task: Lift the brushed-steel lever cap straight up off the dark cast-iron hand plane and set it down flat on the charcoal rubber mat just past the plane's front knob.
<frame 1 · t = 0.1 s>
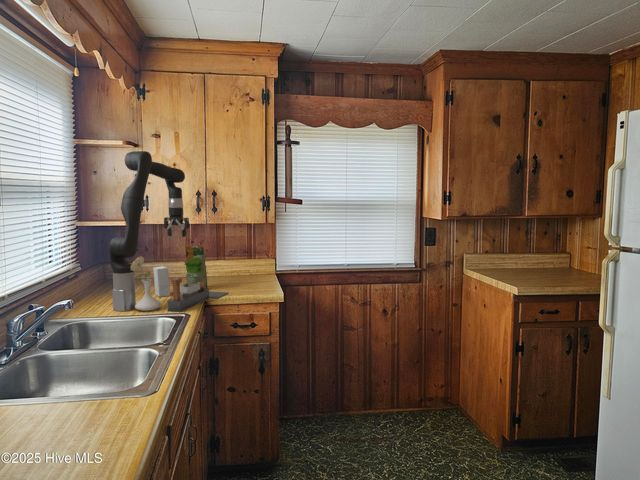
hand: (177, 236, 261), 29 cm above the counter, tool pointing down, fingers open, 8 cm apart
hand plane: (189, 304, 227), on the counter
green plant in glass: (196, 289, 262), on the counter
skincare box: (162, 295, 249), on the counter
rubber mat: (212, 295, 247), on the counter
flower in vase: (146, 309, 219), on the counter
lever cap: (190, 291, 228), point 6 cm above the counter, touching hand plane
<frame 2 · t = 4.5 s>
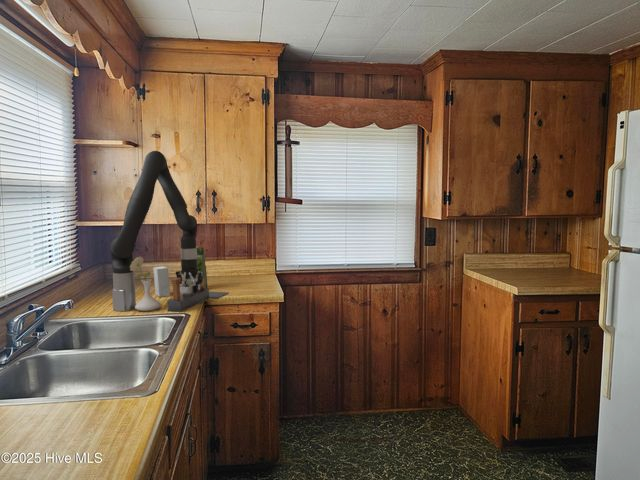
hand: (190, 292, 228), 6 cm above the counter, tool pointing down, fingers closed on lever cap, 5 cm apart
lever cap: (190, 291, 228), point 6 cm above the counter, touching gripper, hand plane
everything else where it was.
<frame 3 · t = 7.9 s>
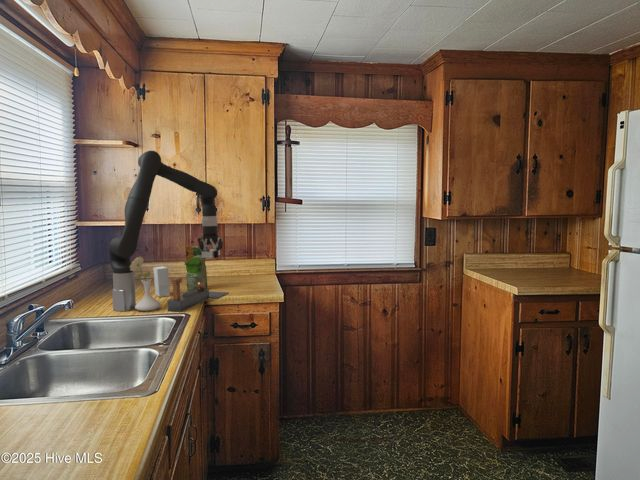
hand: (211, 257, 244), 20 cm above the counter, tool pointing down, fingers closed on lever cap, 5 cm apart
lever cap: (211, 256, 244), point 21 cm above the counter, touching gripper
everything else where it was.
when the fingers open (2 cm above the counter, at t = 11.4 s): lever cap drops 2 cm, resting on rubber mat.
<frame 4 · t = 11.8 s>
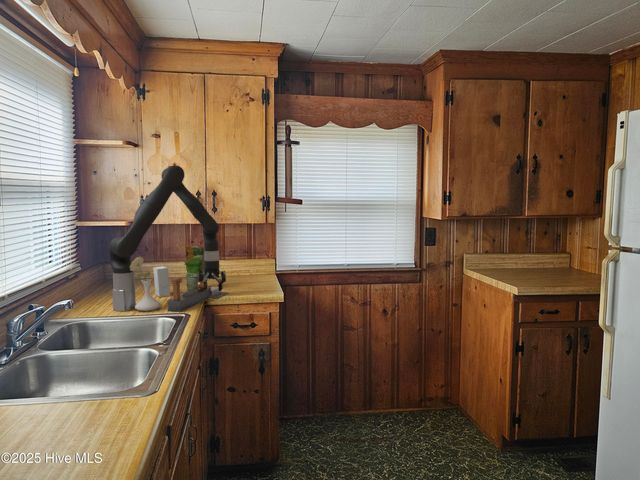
hand: (212, 290, 247), 3 cm above the counter, tool pointing down, fingers open, 8 cm apart
lever cap: (212, 294, 247), point 1 cm above the counter, touching rubber mat
everything else where it was.
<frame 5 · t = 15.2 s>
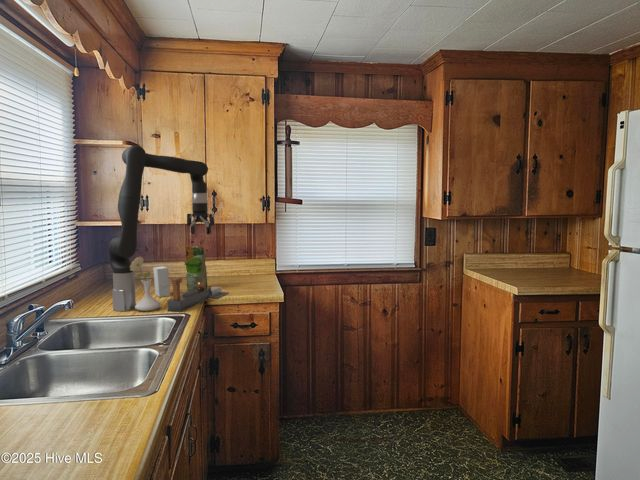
hand: (200, 234, 242), 32 cm above the counter, tool pointing down, fingers open, 8 cm apart
nothing on the counter moved.
at the end: lever cap inside the target area on the rubber mat (0.1 cm from its centre), point 0.6 cm above the rubber mat's base; lever cap tilted 0°; lever cap touching rubber mat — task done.
